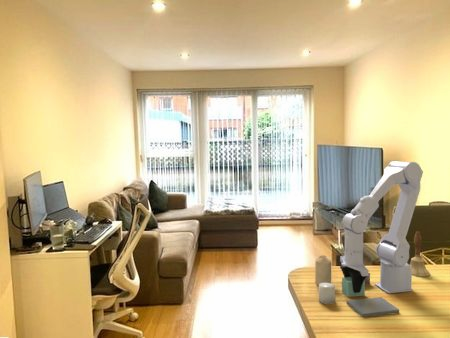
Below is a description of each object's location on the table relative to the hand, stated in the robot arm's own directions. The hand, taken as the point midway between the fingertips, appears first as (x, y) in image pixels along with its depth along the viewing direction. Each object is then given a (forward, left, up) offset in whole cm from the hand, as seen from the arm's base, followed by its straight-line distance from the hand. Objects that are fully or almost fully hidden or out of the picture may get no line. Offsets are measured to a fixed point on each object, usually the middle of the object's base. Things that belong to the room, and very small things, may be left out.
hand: (353, 289), depth 123 cm
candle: (+6, -10, -2) cm, 12 cm away
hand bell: (-34, -12, -2) cm, 36 cm away
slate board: (0, +11, -1) cm, 11 cm away
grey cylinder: (+11, +3, -2) cm, 12 cm away
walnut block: (-7, -8, -2) cm, 11 cm away
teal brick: (0, 0, -1) cm, 1 cm away
